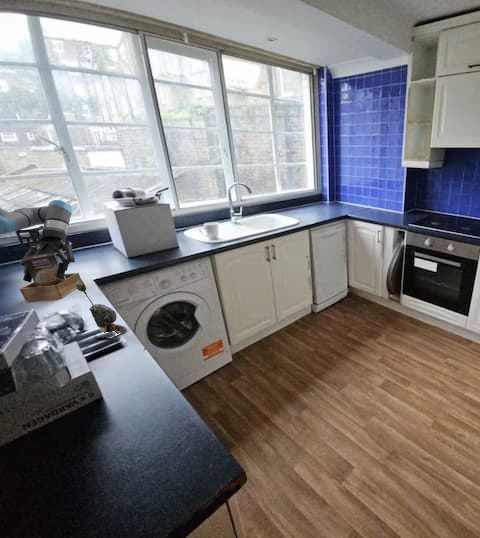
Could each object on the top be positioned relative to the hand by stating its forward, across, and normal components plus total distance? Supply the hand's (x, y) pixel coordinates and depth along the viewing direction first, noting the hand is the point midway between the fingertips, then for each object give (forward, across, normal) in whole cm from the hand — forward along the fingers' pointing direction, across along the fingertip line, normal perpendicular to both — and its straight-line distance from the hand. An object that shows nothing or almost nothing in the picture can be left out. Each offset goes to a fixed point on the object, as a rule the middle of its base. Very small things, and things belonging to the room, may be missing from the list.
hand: (43, 279), depth 120 cm
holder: (-30, +34, -40) cm, 61 cm away
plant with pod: (+33, -41, +22) cm, 57 cm away
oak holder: (+3, 0, -7) cm, 8 cm away
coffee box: (+3, 0, -7) cm, 8 cm away
